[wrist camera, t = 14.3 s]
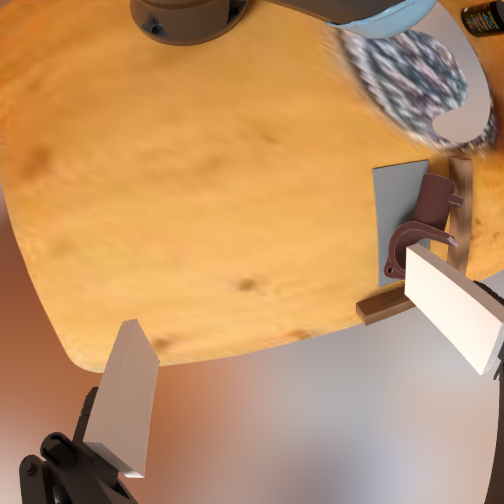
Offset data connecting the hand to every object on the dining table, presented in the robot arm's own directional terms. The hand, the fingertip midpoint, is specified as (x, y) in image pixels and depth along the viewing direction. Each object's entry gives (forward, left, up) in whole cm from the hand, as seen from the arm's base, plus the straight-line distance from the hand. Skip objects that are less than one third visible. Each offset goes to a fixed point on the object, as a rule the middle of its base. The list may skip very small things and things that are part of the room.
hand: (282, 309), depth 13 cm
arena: (+13, +26, -27) cm, 40 cm away
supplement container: (-26, +51, -27) cm, 63 cm away
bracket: (+11, +26, -27) cm, 39 cm away
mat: (+11, +25, -27) cm, 38 cm away
